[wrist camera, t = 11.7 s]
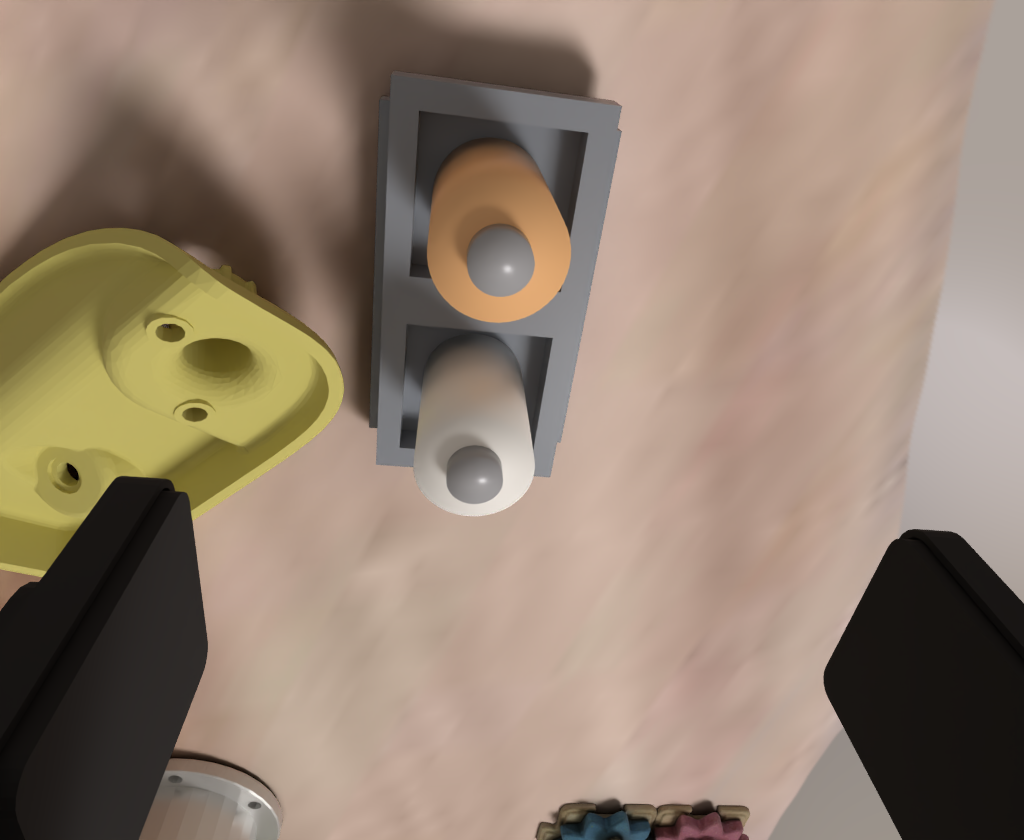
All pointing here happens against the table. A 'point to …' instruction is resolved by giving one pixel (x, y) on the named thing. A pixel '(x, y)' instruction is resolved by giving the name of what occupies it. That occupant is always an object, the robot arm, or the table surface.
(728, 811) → the gear puzzle
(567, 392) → the housing
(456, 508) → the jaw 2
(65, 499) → the plastic component
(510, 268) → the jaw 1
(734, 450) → the table surface
